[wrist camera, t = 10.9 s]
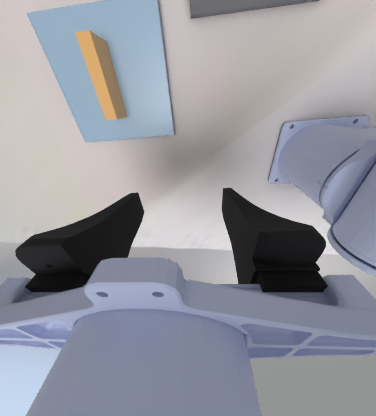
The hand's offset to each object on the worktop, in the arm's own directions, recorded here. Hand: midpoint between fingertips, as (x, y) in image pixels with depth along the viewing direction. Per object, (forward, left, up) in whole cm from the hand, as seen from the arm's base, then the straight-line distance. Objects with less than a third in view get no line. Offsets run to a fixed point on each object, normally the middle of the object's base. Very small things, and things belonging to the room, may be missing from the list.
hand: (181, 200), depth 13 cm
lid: (+7, -9, -11) cm, 16 cm away
